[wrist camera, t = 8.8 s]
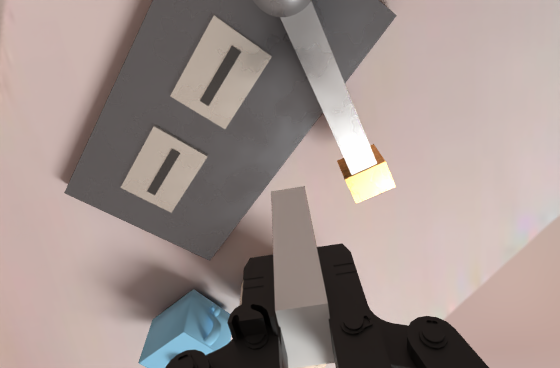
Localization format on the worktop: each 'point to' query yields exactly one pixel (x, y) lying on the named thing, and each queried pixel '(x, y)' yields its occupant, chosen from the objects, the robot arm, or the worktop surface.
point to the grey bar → (332, 97)
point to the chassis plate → (209, 114)
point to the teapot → (185, 330)
